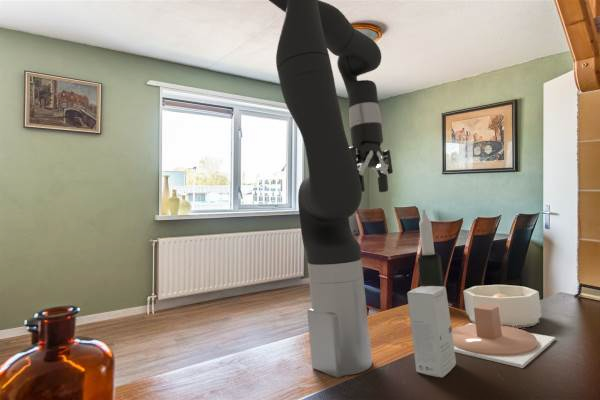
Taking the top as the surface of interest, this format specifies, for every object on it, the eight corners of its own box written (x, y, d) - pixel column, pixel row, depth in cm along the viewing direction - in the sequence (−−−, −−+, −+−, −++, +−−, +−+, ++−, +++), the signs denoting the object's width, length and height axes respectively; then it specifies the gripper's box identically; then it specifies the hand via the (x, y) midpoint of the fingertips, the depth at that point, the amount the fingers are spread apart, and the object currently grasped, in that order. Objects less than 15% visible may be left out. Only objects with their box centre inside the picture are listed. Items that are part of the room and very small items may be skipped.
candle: (443, 310, 86) (431, 208, 87) (422, 309, 88) (411, 210, 90) (446, 305, 90) (435, 208, 92) (426, 304, 93) (415, 210, 94)
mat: (522, 368, 52) (522, 364, 52) (430, 346, 63) (429, 343, 63) (555, 340, 61) (555, 337, 61) (469, 325, 73) (469, 323, 73)
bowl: (525, 333, 65) (521, 300, 66) (458, 321, 76) (454, 293, 76) (548, 316, 74) (544, 288, 74) (485, 308, 84) (481, 283, 84)
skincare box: (444, 379, 50) (434, 294, 51) (414, 372, 53) (405, 292, 54) (457, 363, 55) (448, 285, 56) (429, 358, 58) (421, 284, 59)
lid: (518, 362, 52) (513, 323, 53) (432, 343, 63) (429, 310, 64) (549, 337, 61) (544, 303, 62) (469, 324, 72) (465, 295, 72)
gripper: (357, 117, 77) (364, 190, 76) (396, 124, 86) (403, 189, 85) (333, 126, 83) (340, 194, 82) (372, 132, 92) (378, 193, 91)
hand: (372, 192), depth 83 cm, fingers open, 8 cm apart
